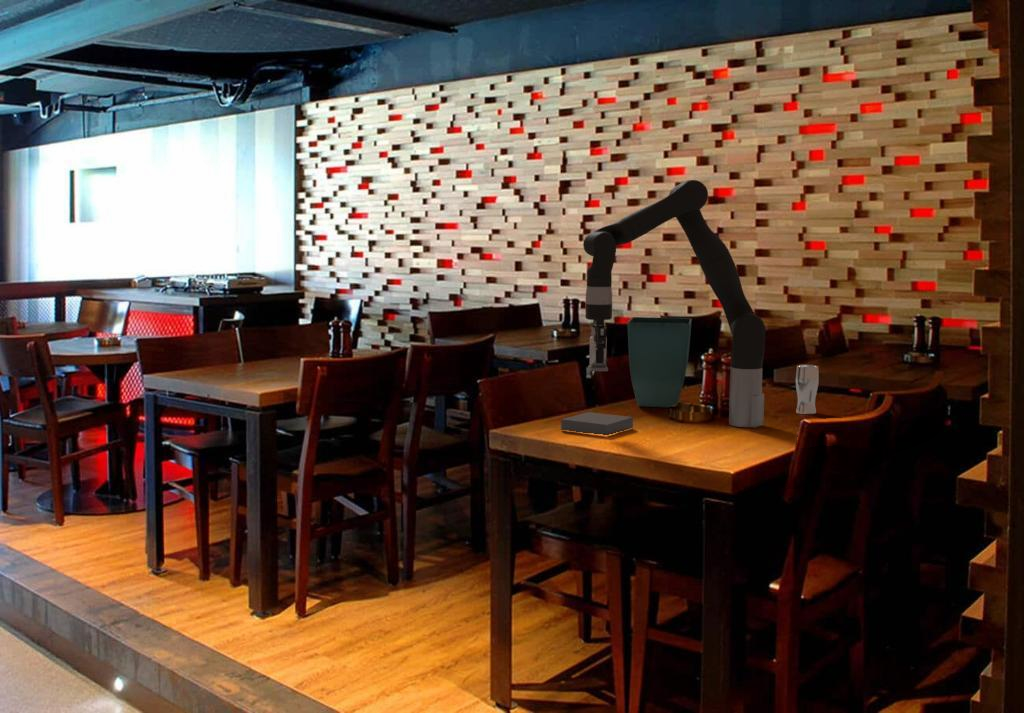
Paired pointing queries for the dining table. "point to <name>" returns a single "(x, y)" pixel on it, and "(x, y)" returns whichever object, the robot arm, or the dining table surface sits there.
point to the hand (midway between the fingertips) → (598, 361)
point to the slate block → (597, 423)
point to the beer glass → (806, 388)
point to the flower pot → (658, 358)
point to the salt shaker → (593, 364)
